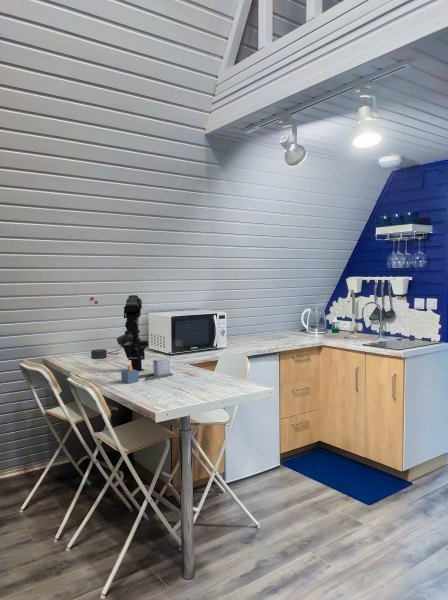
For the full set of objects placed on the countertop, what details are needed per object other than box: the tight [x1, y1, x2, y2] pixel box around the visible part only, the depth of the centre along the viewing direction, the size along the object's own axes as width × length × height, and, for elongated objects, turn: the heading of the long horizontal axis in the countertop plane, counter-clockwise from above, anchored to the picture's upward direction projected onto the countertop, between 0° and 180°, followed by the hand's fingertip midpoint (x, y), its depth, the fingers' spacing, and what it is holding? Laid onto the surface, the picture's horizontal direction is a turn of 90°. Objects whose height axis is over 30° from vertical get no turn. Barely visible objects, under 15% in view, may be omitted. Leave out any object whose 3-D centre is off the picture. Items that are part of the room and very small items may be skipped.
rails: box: [139, 372, 173, 381], centre depth 238 cm, size 8×16×1 cm, turn 130°
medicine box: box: [152, 358, 171, 376], centre depth 241 cm, size 8×4×9 cm, turn 130°
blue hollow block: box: [120, 369, 140, 385], centre depth 228 cm, size 7×6×6 cm
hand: (133, 359), depth 229 cm, fingers open, 9 cm apart
